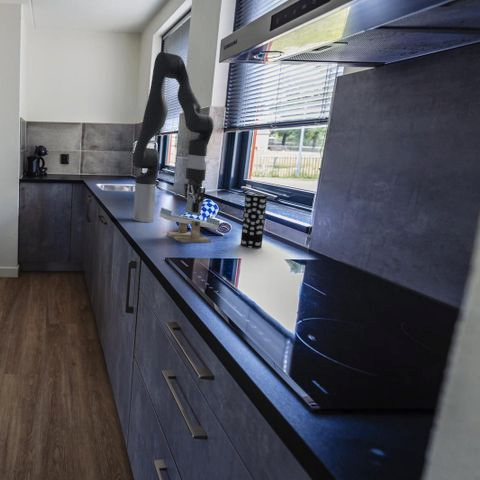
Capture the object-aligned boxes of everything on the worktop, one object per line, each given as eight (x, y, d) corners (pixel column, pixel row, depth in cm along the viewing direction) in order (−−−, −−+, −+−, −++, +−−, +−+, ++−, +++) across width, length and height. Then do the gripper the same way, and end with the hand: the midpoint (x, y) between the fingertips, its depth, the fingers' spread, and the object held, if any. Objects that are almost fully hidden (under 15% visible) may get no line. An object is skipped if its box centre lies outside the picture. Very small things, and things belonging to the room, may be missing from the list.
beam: (159, 216, 167) (161, 207, 166) (207, 225, 179) (209, 217, 179) (168, 220, 159) (170, 211, 159) (218, 229, 172) (220, 220, 171)
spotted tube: (262, 244, 173) (267, 195, 169) (260, 249, 164) (266, 196, 161) (241, 242, 173) (246, 192, 169) (239, 246, 165) (244, 194, 161)
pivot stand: (167, 235, 173) (168, 215, 171) (194, 234, 179) (195, 215, 178) (181, 242, 161) (183, 221, 160) (209, 242, 168) (211, 221, 166)
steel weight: (184, 211, 170) (188, 196, 169) (194, 213, 172) (198, 199, 172) (189, 213, 166) (193, 198, 166) (199, 215, 169) (203, 200, 168)
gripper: (179, 165, 170) (176, 208, 173) (196, 168, 158) (192, 214, 161) (196, 166, 174) (192, 208, 177) (213, 169, 162) (209, 214, 165)
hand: (192, 211), depth 169 cm, fingers closed on steel weight, 4 cm apart
